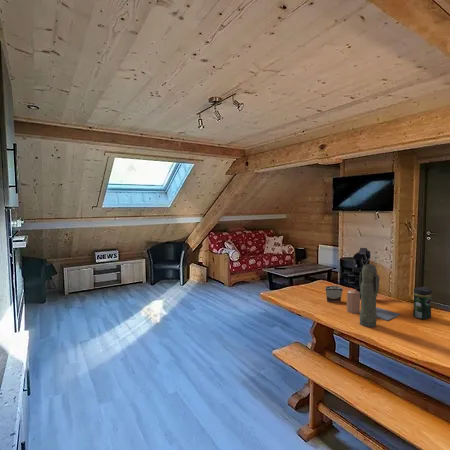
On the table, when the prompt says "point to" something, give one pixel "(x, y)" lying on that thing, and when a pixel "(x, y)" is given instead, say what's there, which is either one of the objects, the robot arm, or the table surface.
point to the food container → (333, 293)
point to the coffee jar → (422, 303)
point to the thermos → (368, 295)
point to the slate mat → (385, 314)
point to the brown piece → (353, 301)
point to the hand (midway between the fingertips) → (355, 288)
